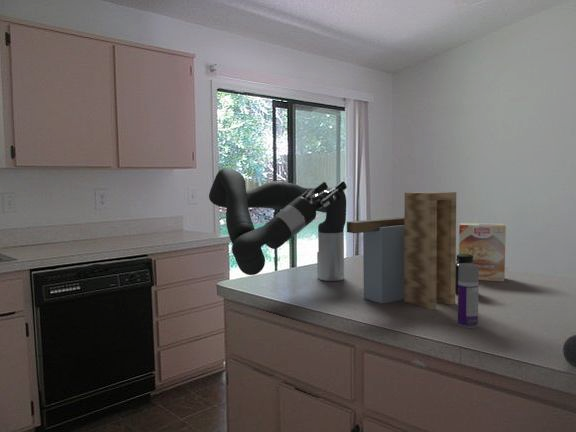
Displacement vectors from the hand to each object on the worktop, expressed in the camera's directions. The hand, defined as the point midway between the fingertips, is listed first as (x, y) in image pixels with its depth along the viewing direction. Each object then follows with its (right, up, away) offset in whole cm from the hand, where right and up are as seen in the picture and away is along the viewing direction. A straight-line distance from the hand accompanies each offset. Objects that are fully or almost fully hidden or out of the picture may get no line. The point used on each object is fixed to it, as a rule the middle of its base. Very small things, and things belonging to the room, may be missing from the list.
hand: (335, 184), depth 128 cm
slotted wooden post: (+28, -34, +4) cm, 44 cm away
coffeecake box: (+55, -31, +34) cm, 72 cm away
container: (+31, -36, -16) cm, 50 cm away
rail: (+15, -13, +8) cm, 21 cm away
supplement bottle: (+42, -33, +14) cm, 55 cm away
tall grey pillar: (+16, -34, +10) cm, 39 cm away
